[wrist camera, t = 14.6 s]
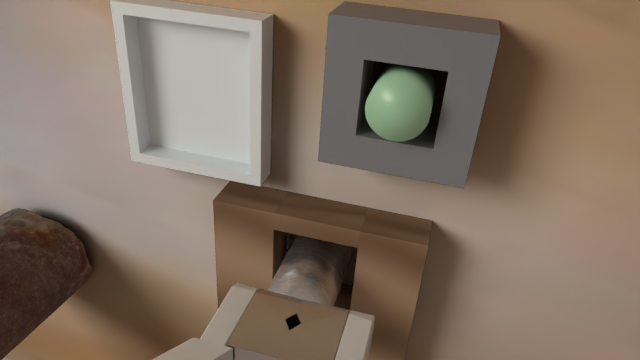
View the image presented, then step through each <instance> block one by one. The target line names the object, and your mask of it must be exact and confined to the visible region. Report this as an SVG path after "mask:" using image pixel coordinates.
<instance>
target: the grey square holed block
mask: <svg viewBox="0 0 640 360" xmlns="http://www.w3.org/2000/svg"><path fill="white" fill-rule="evenodd" d="M500 37H501V34H500V27H499V20H493V19H485V18H476V17H468V16H460V15H452V14H443V13H435V12H427V11H419V10H411V9H402V8H394V7H386V6H378V5H370V4H361V3H353V2H345V1H344V2H343V3H342V4H341V5H339V6H338V7H337V8H336V9H334V10H333V11H332V12H330V13H329V15H328V29H327V43H326V57H325V71H324V85H323V99H322V112H321V126H320V140H319V154H318V161H320V162H325V163H330V164H336V165H341V166H346V167H352V168H357V169H362V170H368V171H373V172H378V173H384V174H389V175H395V176H400V177H405V178H411V179H416V180H421V181H427V182H432V183H437V184H443V185H448V186H454V187H459V188H464V187H465V183H466V179H467V175H468V170H469V166H470V162H471V158H472V154H473V150H474V145H475V141H476V137H477V133H478V129H479V125H480V120H481V116H482V112H483V108H484V104H485V100H486V95H487V91H488V87H489V83H490V79H491V75H492V70H493V66H494V62H495V58H496V54H497V50H498V45H499V41H500ZM374 61H378V62H385V63H392V64H399V65H406V66H413V67H420V68H427V69H434V70H441V71H448V76H447V81H446V87H445V92H444V97H443V102H442V107H441V112H440V117H439V122H438V124H435V123H429V122H428V124H427V126H426V128H425V129H424V130H423V132H421V133H420V134H419V135H418V136H416V137H415V138H413V139H410V140H407V141H390V140H387V139H384V138H382V137H381V136H379V135H378V134H376V133H375V132H374V131H373V130H372V128H371V127H370V126H369V124H368V122H367V119H366V115H365V104H366V100H367V98H368V96H369V94H370V87H371V79H372V71H373V62H374Z"/></svg>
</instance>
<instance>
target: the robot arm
mask: <svg viewBox="0 0 640 360" xmlns="http://www.w3.org/2000/svg"><path fill="white" fill-rule="evenodd" d="M374 322H375V316H374V315H369V314H365V313H360V312H356V311H352V310H351V311H350V310H347V309H343V308H339V307H334V306H330V305H326V304H321V303H317V302H312V301H308V300H302V299H298V298H295V297H291V296H287V295H283V294H280V293H276V292H272V291H268V290H265V289H261V288H255V287H251V286H248V285H244V284H240V283H236V284H235V285H234V286H232V287H231V289H230V290H229V292H228V294H227V295H226V297H225V298H224V300H223V302H222V303H221V305H220V307H219V308H218V310H217V312H216V313H215V315H214V316H213V318H212V320H211V321H210V323H209V325H208V326H207V328H206V329H205V331H204V333H203V334H202V336H201V338H200V339H198V338H194V337H193V338H191V339H189V340H187V341H185V342H184V343H182V344H180V345H178V346H176V347H174V348H173V349H171V350H169V351H167V352H165V353H163V354H161V355H160V356H158V357H156V358H154V359H152V360H368V357H369V352H370V346H371V340H372V334H373V328H374Z"/></svg>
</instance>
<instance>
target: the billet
mask: <svg viewBox="0 0 640 360" xmlns="http://www.w3.org/2000/svg"><path fill="white" fill-rule="evenodd" d="M351 257H352V247H351V246H346V245H342V244H337V243H333V242H328V241H323V240H319V239H314V238H310V237H305V236H300V235H296V237H295V239H294V241H293V243H292V245H291V247H290V248H289V250H288V252H287V254H286V256H285V258H284V260H283V261H282V263H281V265H280V267H279V269H278V271H277V273H276V274H275V276H274V278H273V280H272V282H271V284H270V285H269V287H268V289H267V290H268V291H272V292H276V293H280V294H283V295H287V296H291V297H295V298H298V299H302V300H308V301H312V302H317V303H321V304H326V305H330V306H334V305H335V302H336V299H337V296H338V294H339V291H340V288H341V285H342V282H343V280H344V277H345V274H346V271H347V268H348V266H349V263H350V260H351Z"/></svg>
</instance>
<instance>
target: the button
mask: <svg viewBox="0 0 640 360" xmlns="http://www.w3.org/2000/svg"><path fill="white" fill-rule="evenodd" d="M435 92H436V85H435V80H434V78H433V76H432V74H431V72H430V71H429V70H428V69H427V68H420V67H413V66H406V65H399V64H390V65H389V66H387V67H386V68H385V69H384V70H383V71H382V73H381V74H380V76H379V78H378V80H377V81H376V83H375V85H374V87H373V89H372V90H371V92H370V94H369V96H368V98H367V100H366V104H365V115H366V119H367V122H368V124H369V126H370V127H371V128H372V130H373V131H374V132H375V133H376V134H378V135H379V136H381V137H382V138H384V139H387V140H390V141H407V140H410V139H413V138H415V137H416V136H418V135H419V134H420V133H421V132H423V130H424V129H425V128H426V126H427V124H428V122H429V119H430V115H431V111H432V106H433V102H434V97H435Z"/></svg>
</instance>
